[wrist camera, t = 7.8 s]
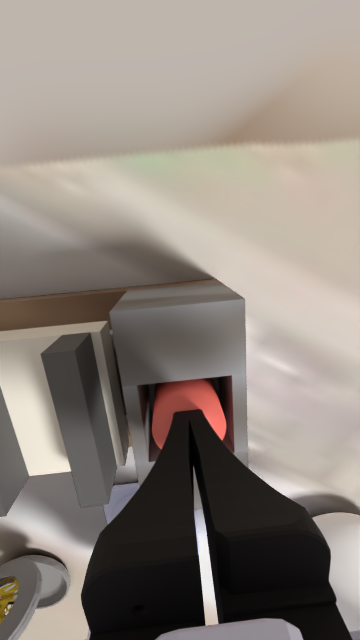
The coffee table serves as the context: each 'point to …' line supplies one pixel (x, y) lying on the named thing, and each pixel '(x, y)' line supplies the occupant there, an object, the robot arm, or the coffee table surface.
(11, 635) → the pocket watch
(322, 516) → the flower in vase
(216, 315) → the rail board
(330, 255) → the coffee table surface
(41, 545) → the coffee table surface
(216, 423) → the button
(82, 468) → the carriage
